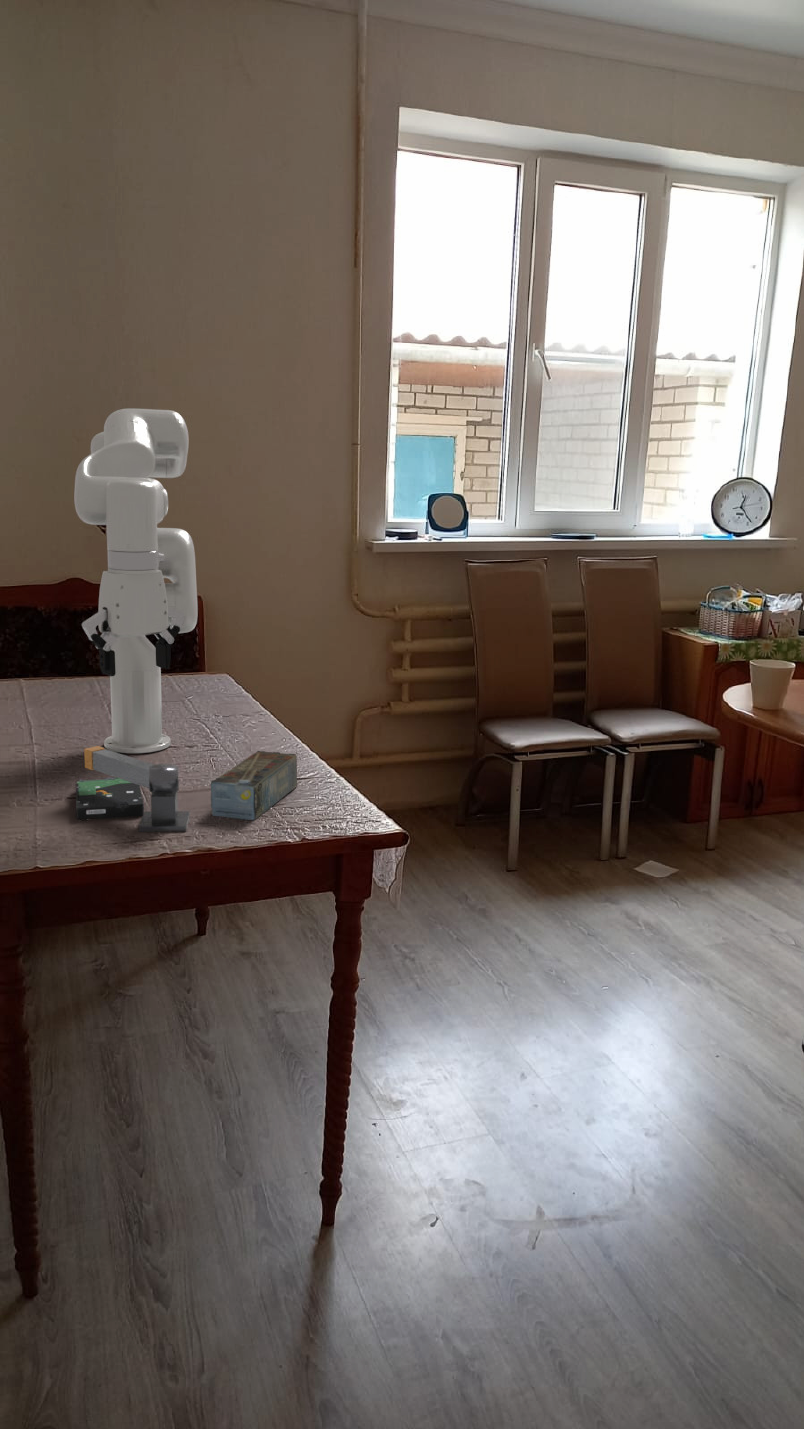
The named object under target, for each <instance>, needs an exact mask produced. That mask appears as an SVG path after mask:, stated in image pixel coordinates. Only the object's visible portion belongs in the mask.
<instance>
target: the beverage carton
mask: <svg viewBox="0 0 804 1429" xmlns="http://www.w3.org/2000/svg"><path fill="white" fill-rule="evenodd" d="M297 762H298V759H297V753H283V752H275V751H273V752H272V751H264V750H263V751H262V750H257V751H256V752H254V753H252V754H251V755H249V757H247V758H246V759H244V760H242V761H241V762H240V763H238V764H236V766H234V767H232V768H230V769H229V770H228V771H226V772H225V773H223V774H222V775H220V776H219V777H217V778H215V779H213V780H212V781H211V782H210V807H211V813H212V816H215V817H223V818H231V819H239V820H246V821H247V820H248V821H256V819H258V818H259V817H261V816H262V815H264V813H265V812H267V811H268V810H270V809H271V808H272V807H273V806H275V804H277V803H278V802H279V801H280V800H281V799H283V798H284V797H285V796H287V795H288V794H289V793H290V792H292V791H293V790H294V789H295V788H296V787H298V768H297V767H298V763H297Z"/></svg>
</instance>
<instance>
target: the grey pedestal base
mask: <svg viewBox="0 0 804 1429" xmlns="http://www.w3.org/2000/svg"><path fill="white" fill-rule="evenodd" d="M178 799H179V798H178V791H177V792H175V793H171V794H154V793H151V796H150V805H151V806H150V808H151V809H150V810H151V811H147V810H146V811H145V810H144V815H143V816H141V817H142V818H141V820H140V822H139V825H138V832H139V833H140V832H141V833H145V832H147V833H149V832H160V833H161V832H187V829H188V825H189V821H190V817H191V811H190V810H186V811H185V810H184V811H183V810H179V809H178V808H179V807H178V806H179V802H178Z"/></svg>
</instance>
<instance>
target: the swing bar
mask: <svg viewBox="0 0 804 1429" xmlns="http://www.w3.org/2000/svg"><path fill="white" fill-rule="evenodd" d="M83 750H84V751H83V752H84V753H83V754H84V768H85V769H87V770H90V771H95V772H99V773H102V774H105V775H108V776H111V777H112V778H119V779H122V780H125V781H128V782H131V783H134V784H137V785H140V787H143V788H147V789H148V790H149V792H150V793H151V794H152V793H154V794H171V793H175V792H177V793H178V791H179V789H180V786H179V785H180V784H179V783H180V782H179V766H178V765H176V764H172V763H171V764H170V763H159V764H153V763H151V762H148V761H144V760H141V759H137V758H136V757H135V758H134V757H131V756H130V755H129V756H128V755H125V754H123V753H119V752H114V751H110V750H108V749H106V748H105V747H102V746H100V745H97V746H96V745H95V746H91V747H86V748H83Z"/></svg>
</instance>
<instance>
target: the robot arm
mask: <svg viewBox="0 0 804 1429" xmlns="http://www.w3.org/2000/svg"><path fill="white" fill-rule="evenodd" d="M188 430H189V429H188V427H187V424H186V422H185V419H184V417H183V416H182V415H180V413H179V412H176V411H175V410H172V409H171V410H169V409H154V408H153V409H150V408H122V409H117V410H116V411H113V412H112V413H110V414H109V415H108V416H107V418H106V420H105V422H104V426H103V431H101V432H99V433H97V434H96V435H94V436H93V437H92V438H91V442H90V454H88V455H87V456H86V457H84V458H83V459H82V460H81V461H80V463H79V464H78V466H77V469H76V472H75V478H74V490H73V492H74V493H73V494H74V495H73V496H74V498H73V500H74V509H75V512H76V514H77V516H78V518H79V519H80V520H81V521H82V522H83V523H85V524H89V525H92V526H97V525H98V526H106V544H107V545H106V546H107V570H104V571H102V575H101V580H100V586H99V592H98V593H99V596H98V611H97V612H96V613H95V614H93V615H92V616H91V617H89V618H87V619H86V620H84V621H83V622H82V623H81V627H82V629H83V631H84V633H85V634H86V635H87V640H89V641H90V642H91V643H92V644H93V645H94V646H95V648H96V649H97V650H98V654H99V655H98V656H99V657H98V658H99V661H98V662H99V669H100V671H101V674H102V675H105V676H108V677H109V683H110V688H109V690H110V708H111V710H110V712H111V735H110V736H108V737H106V738H105V739H104V741H103V743H104V744H103V745H104V747H103V748H105V749H107V750H110V751H113V752H116V753H119V754H147V753H148V754H149V753H155V752H159V751H162V750H165V749H167V748H169V747H170V746H171V737H170V736H168V735H167V734H164V733H163V710H162V708H163V706H162V705H163V704H162V703H163V702H162V673H161V672H162V670H161V669H165V670H169V669H170V668H171V661H172V648H171V647H172V646H171V645H172V644H173V643H174V641H175V638H176V637H177V635H179V634H184V633H189V632H192V631H193V630H194V629H195V627H196V625H197V624H198V617H199V616H198V610H199V608H198V607H199V606H198V605H199V604H198V590H197V589H198V588H197V571H196V569H197V568H196V554H195V545H194V542H193V541H194V540H193V538H192V536H191V535H190V533H188V532H187V531H186V530H185V529H182V528H176V527H175V528H174V527H158V524H160V523H161V522H162V521H163V520H164V518H165V517H166V516H167V514H168V511H169V510H168V509H169V497H168V492H167V489H165V488H164V485H162V483H161V482H160V481H159V480H157V479H156V478H161V479H162V478H163V479H173V478H178V477H181V476H182V475H183V473H185V470H186V467H187V460H188V453H189V445H190V444H189V443H190V442H189V441H190V440H189V438H190V437H189V431H188ZM165 579H168V580H169V581H170V582H172V583H170V582H168V583H165ZM97 626H98V630H99V632H100V633H101V635H99V633H98V631H97V629H96V628H97ZM150 635H154V636H155V637H156V639H157V640H158V641H155V645H154V644H153V643H152V642H151V641H150V640H149V638H147V636H150Z"/></svg>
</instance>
